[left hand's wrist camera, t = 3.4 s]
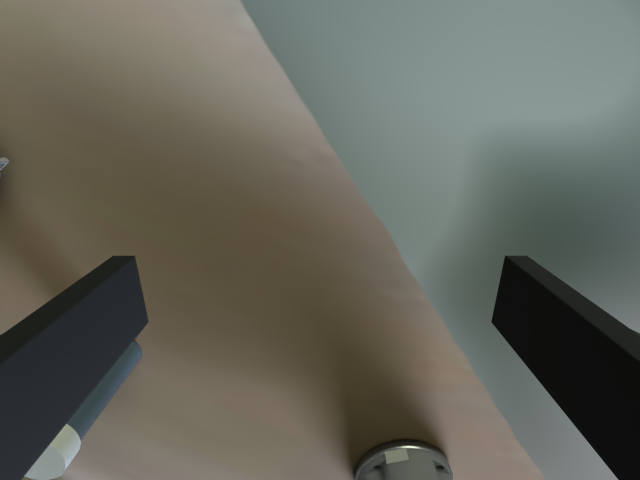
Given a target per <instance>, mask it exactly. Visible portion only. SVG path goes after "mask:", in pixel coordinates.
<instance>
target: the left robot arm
mask: <svg viewBox="0 0 640 480" xmlns="http://www.w3.org/2000/svg"><path fill="white" fill-rule="evenodd" d="M147 323H148V317H147V312H146V307H145V302H144V298H143V293H142V288H141V283H140V278H139V274H138V269H137V264H136V259H135V256H112V257H111V258H109V259H108V260H107V261H105V262H104V263H102V264H101V265H100V266H98V267H97V268H95V269H94V270H93V271H91V272H90V273H88V274H87V275H85V276H84V277H83V278H81V279H80V280H78V281H77V282H76V283H74V284H73V285H71V286H70V287H69V288H67V289H66V290H64V291H63V292H61V293H60V294H59V295H57V296H56V297H54V298H53V299H52V300H50V301H49V302H47V303H46V304H44V305H43V306H42V307H40V308H39V309H37V310H36V311H35V312H33V313H32V314H30V315H29V316H28V317H26V318H25V319H23V320H22V321H20V322H19V323H18V324H16V325H15V326H13V327H12V328H11V329H9V330H8V331H6V332H5V333H4V334H2V335H0V480H22V478H23V477H24V476H25V475H26V473H27V472H28V471H29V470H30V468H31V467H32V466H33V465H34V463H35V462H36V461H37V460H38V458H39V457H40V456H41V455H42V454H43V452H44V451H45V450H46V449H47V447H48V446H49V445H50V444H51V442H52V441H53V440H54V439H55V437H56V436H57V435H58V434H59V432H60V431H61V430H62V429H63V427H64V426H65V425H66V424H67V423H68V421H69V420H70V419H71V418H72V416H73V415H74V414H75V413H76V411H77V410H78V409H79V408H80V406H81V405H82V404H83V403H84V401H85V400H86V399H87V398H88V396H89V395H90V394H91V393H92V392H93V390H94V389H95V388H96V387H97V385H98V384H99V383H100V382H101V380H102V379H103V378H104V377H105V375H106V374H107V373H108V372H109V370H110V369H111V368H112V367H113V365H114V364H115V363H116V362H117V361H118V359H119V358H120V357H121V356H122V354H123V353H124V352H125V351H126V349H127V348H128V347H129V346H130V344H131V343H132V342H133V341H134V339H135V338H136V337H137V336H138V335H139V333H140V332H141V331H142V330H143V328H144V327H145V326H146V325H147ZM492 323H493V325H494V326H495V327H496V328H497V330H498V331H499V332H500V333H501V334H502V336H503V337H504V338H505V339H506V341H507V342H508V343H509V344H510V346H511V347H512V348H513V349H514V351H515V352H516V353H517V354H518V355H519V357H520V358H521V359H522V361H523V362H524V363H525V364H526V365H527V367H528V368H529V369H530V370H531V372H532V373H533V374H534V375H535V377H536V378H537V379H538V380H539V382H540V383H541V384H542V385H543V387H544V388H545V389H546V390H547V392H548V393H549V394H550V395H551V396H552V398H553V399H554V400H555V401H556V403H557V404H558V405H559V406H560V408H561V409H562V410H563V411H564V413H565V414H566V415H567V416H568V418H569V419H570V420H571V421H572V423H573V424H574V425H575V426H576V427H577V429H578V430H579V431H580V432H581V434H582V435H583V436H584V437H585V439H586V440H587V441H588V442H589V444H590V445H591V446H592V447H593V449H594V450H595V451H596V452H597V453H598V455H599V456H600V457H601V458H602V460H603V461H604V462H605V463H606V465H607V466H608V467H609V468H610V470H611V471H612V472H613V473H614V475H615V476H616V477H617V478H618V480H640V333H637V332H635V331H633V330H631V329H629V328H628V327H627V326H625V325H624V324H622V323H621V322H619V321H618V320H617V319H615V318H614V317H612V316H611V315H610V314H608V313H607V312H605V311H604V310H603V309H601V308H600V307H598V306H597V305H595V304H594V303H593V302H591V301H590V300H588V299H587V298H586V297H584V296H583V295H581V294H580V293H579V292H577V291H576V290H574V289H573V288H571V287H570V286H569V285H567V284H566V283H564V282H563V281H562V280H560V279H559V278H557V277H556V276H555V275H553V274H552V273H550V272H549V271H547V270H546V269H545V268H543V267H542V266H540V265H539V264H538V263H536V262H535V261H533V260H532V259H531V258H529V257H528V256H505V259H504V264H503V269H502V274H501V278H500V283H499V288H498V293H497V298H496V302H495V307H494V312H493V317H492ZM355 480H453V474H452V471H451V468H450V466H449V463H448V460H447V458H446V457H445V455H444V454H443V453H442V452H441V451H440V450H439V449H437V448H436V447H434V446H432V445H430V444H428V443H425V442H421V441H417V440H396V441H391V442H387V443H384V444H381V445H379V446H377V447H375V448H373V449H372V450H370V451H369V452H367V453H366V454H365V455H364V456H363V457H362V458H361V460H360V461H359V463H358V465H357V467H356V471H355Z"/></svg>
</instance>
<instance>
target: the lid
mask: <svg viewBox="0 0 640 480" xmlns="http://www.w3.org/2000/svg"><path fill="white" fill-rule="evenodd" d="M80 446H81V441H80V438H79V435H78V434H77V432H76V431H75V430H74V429H73V428H72V427H70V426H69V425H68V424H66V425H65V426H64V427H63V429H62V430H61V431H60V432H59V434H58V435H57V436H56V437H55V439H54V440H53V441H52V442H51V444H50V445H49V446H48V447H47V449H46V450H45V451H44V452H43V454H42V455H41V456H40V457H39V458H38V460H37V461H36V462H35V463H34V465H33V466H32V467H31V468H30V470H29V471H28V472H27V473H26V475H25V477H27V478H31V479H35V480H51V479H54V478H57V477H59V476H60V475H61V474H62V473H63V472H64V471H65V469H66V468H67V466H68V465H69V464H70V462H71V461H72V459H73V458H74V457H75V455H76V454H77V452H78V451H79V449H80Z"/></svg>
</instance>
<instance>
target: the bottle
mask: <svg viewBox="0 0 640 480" xmlns="http://www.w3.org/2000/svg"><path fill="white" fill-rule="evenodd" d="M141 353H142V352H141V348H140V346H139V345H138V344H137V343H136V342H135V341H133V342H132V343H131V344H130V346H129V347H128V348H127V349H126V351H125V352H124V353H123V354H122V356H121V357H120V358H119V359H118V361H117V362H116V363H115V364H114V365H113V367H112V368H111V369H110V370H109V372H108V373H107V374H106V375H105V377H104V378H103V379H102V380H101V382H100V383H99V384H98V385H97V387H96V388H95V389H94V390H93V392H92V393H91V394H90V395H89V396H88V398H87V399H86V400H85V401H84V403H83V404H82V405H81V406H80V408H79V409H78V410H77V411H76V413H75V414H74V415H73V416H72V418H71V419H70V420H69V421H68V423H67V424H68V425H69V426H70V427H72V428H73V429H74V430H75V431H76V432H77V434H78V435H79V438H80V441H81V440H82V439H83V437H84V436H85V435H86V433H87V432H88V430H89V429H90V428H91V426H92V425H93V423H94V422H95V421H96V419H97V418H98V417H99V415H100V414H101V412H102V411H103V410H104V408H105V407H106V405H107V404H108V403H109V401H110V400H111V398H112V397H113V396H114V394H115V393H116V392H117V390H118V389H119V387H120V386H121V385H122V383H123V382H124V380H125V379H126V378H127V376H128V375H129V374H130V372H131V371H132V369H133V368H134V367H135V365H136V364H137V362H138V361H139V360H140V358H141Z"/></svg>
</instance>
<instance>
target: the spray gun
mask: <svg viewBox="0 0 640 480" xmlns="http://www.w3.org/2000/svg"><path fill="white" fill-rule="evenodd" d="M8 163H9V160H8V159H7V158H5V157H4V158H0V170H1V169H2V168H4V167H5V166H6V165H7V164H8ZM0 177H1V173H0Z"/></svg>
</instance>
